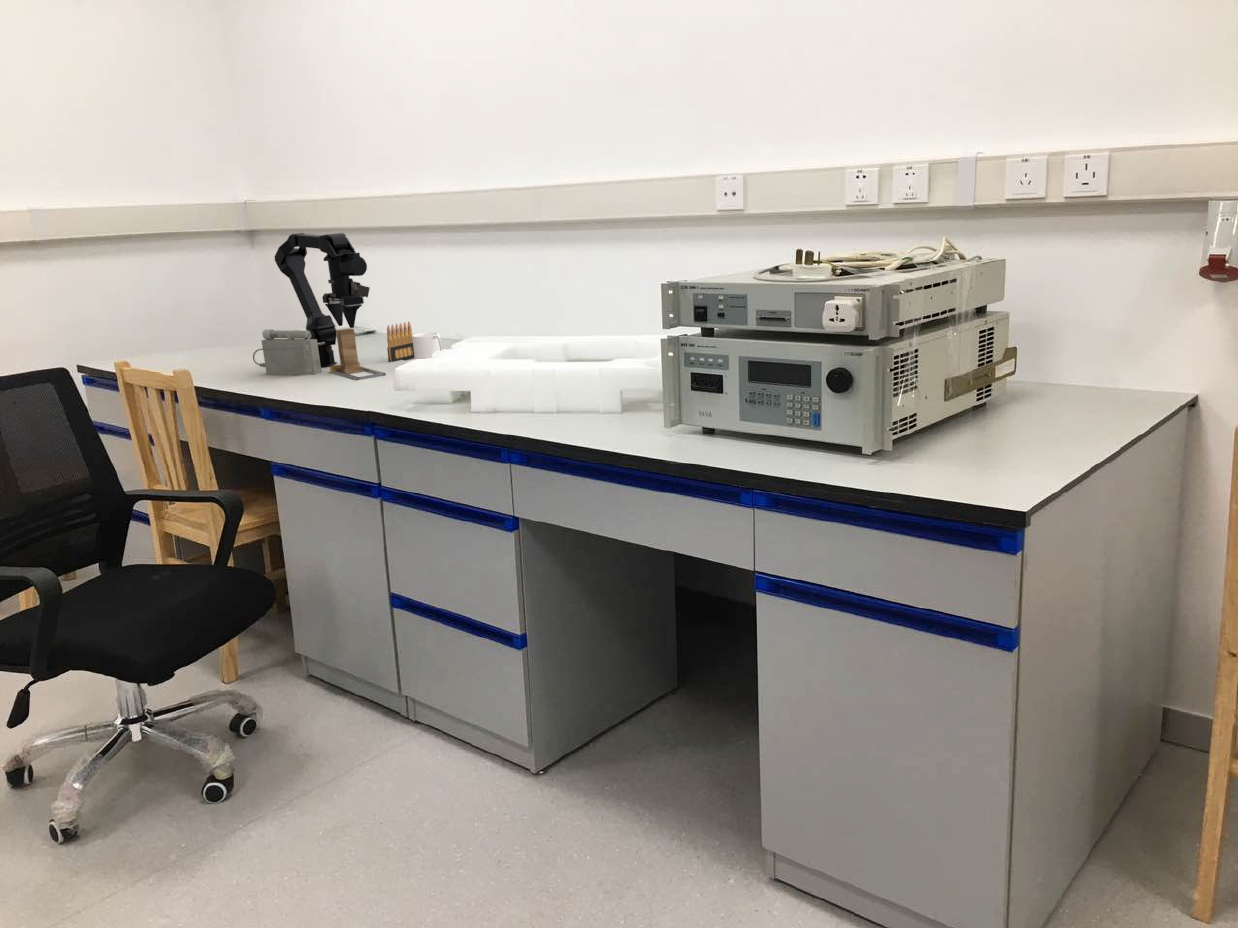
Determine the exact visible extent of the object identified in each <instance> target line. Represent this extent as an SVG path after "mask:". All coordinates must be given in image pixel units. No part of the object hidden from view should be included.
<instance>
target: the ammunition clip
mask: <svg viewBox="0 0 1238 928" xmlns="http://www.w3.org/2000/svg"><path fill="white" fill-rule="evenodd" d="M412 329H413V328H412V325H411V322H410V321H408V322H407V323H406V322H403V324H402V323H401V322H400V323H399V326H398V323H395V326H394V324H391V327H390V326H389V325H387V327H386V336H387V337H386V338H387V348H386V349H387V359H388V362H390V363H394V362H398V361H404V362H405V361H409V360H415V357H414V348H413V340H412V335H414V333H413V330H412Z"/></svg>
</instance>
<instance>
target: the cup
mask: <svg viewBox="0 0 1238 928" xmlns="http://www.w3.org/2000/svg"><path fill="white" fill-rule="evenodd" d="M440 334H441V333H439V332H421V333H416V334H415V333H414V334H413V335H412V340H413V348H414V357H415V358H414V360H415V359H426V358H431V357H432V354H433V353H434V352H436V351H441V350H442V351H443V345H442V344H443V343H442V339H441V335H440Z"/></svg>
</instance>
